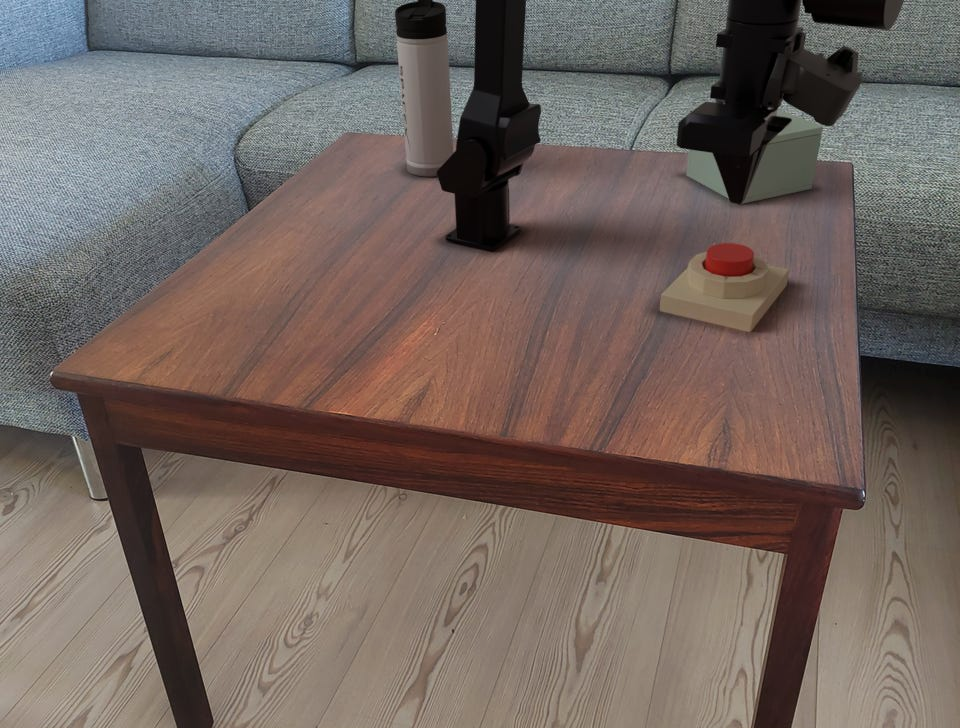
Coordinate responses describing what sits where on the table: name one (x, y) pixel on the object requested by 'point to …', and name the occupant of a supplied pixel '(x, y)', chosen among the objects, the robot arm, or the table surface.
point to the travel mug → (424, 85)
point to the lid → (793, 127)
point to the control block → (724, 294)
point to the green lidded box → (765, 169)
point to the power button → (729, 260)
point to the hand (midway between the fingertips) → (736, 202)
